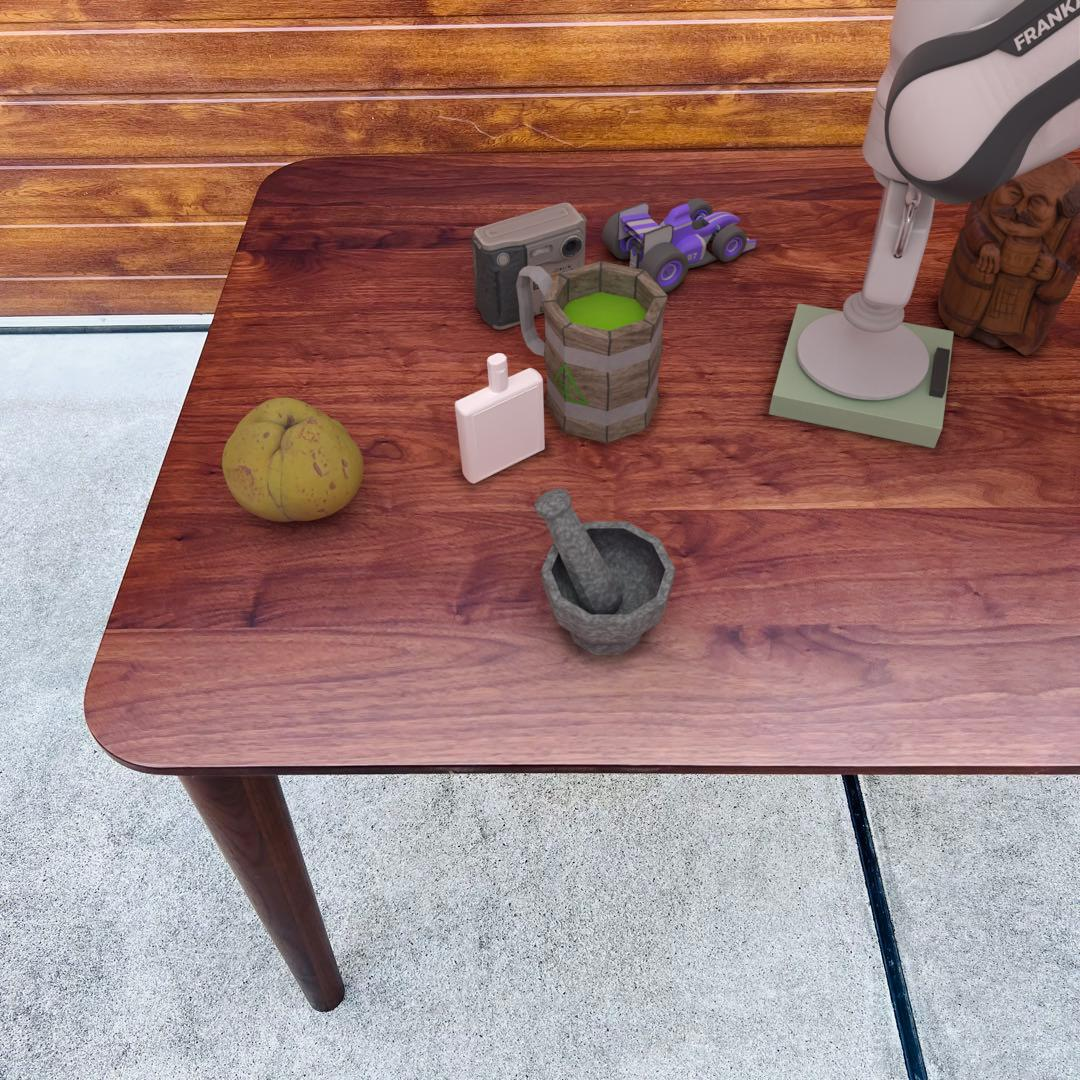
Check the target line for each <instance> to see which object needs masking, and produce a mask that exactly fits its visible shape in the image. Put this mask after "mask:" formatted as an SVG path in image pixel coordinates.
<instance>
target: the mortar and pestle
mask: <svg viewBox="0 0 1080 1080" xmlns="http://www.w3.org/2000/svg"><path fill="white" fill-rule="evenodd" d="M572 501H573V500H572V497H571V495H570V494H569V492H568V490H567V489H566V488H553V489H550V490H547V491H546V492H544V493H543V494H541V495H540V496H539V497H538V498H537V499H536V501H535V503H534V504H533V508H534V510H535V512H536V514H537V516H538V517H539V518H540V519H542V520H544V523H545V525H546V527H547V529H548V531H549V535H550V536H551V538H552V541H553V542H552V544H551V546H550V549H549V551H548V553H547V556H546V558H545V561H544V562H543V565H542V567H541V571H540V572H541V583H542V586H543V587H542V588H543V590H544V593H545V596H546V599H547V601H548V604H549V606H550V609H551V612H552V615H553V617H554V619H555V621H556V624H558V625H559V626H560V627H561V628H562V629H564V630H566V631H568V632H569V634H570V637H571V639H572V641H573V644H575V645H577V646H578V647H581V649H583V650H584V651H586V652H588V653H590V654H591V655H594V656H621V654H623V653H625V652H627V651H628V650H630V649H631V648H633V647H634V646H636V645H637V644H640V641H641V639H642V636H643V634H644V633H645V632H648V631H649V630H650V629H653V627H655V626H656V625H658V624H660V623H661V620H662V618H663V615H664V613H665V610H666V607H667V603H668V600H669V597H670V595H671V591H672V587H673V584H674V581H675V576H676V575H675V574H676V568H675V566H674V564H673V562H672V560H671V557H670V556H669V554H668V552H667V550H666V549H665V547H664V544H663V542H662V540H661V538H658V537H657V536H655V535H653V534H651V533H650V532H648V531H646V530H644V529H642V528H640V527H638V526H637V525H634V524H633V523H631V522H629V521H626V520H625V521H624V520H620V521H619V520H618V521H616V520H615V521H613V520H612V521H607V520H605V521H600V520H599V521H585V522H583V523H582V522H581V520H580V518H579V516H578V515H577V513H576V512H575V510H574V508H573V506H572Z"/></svg>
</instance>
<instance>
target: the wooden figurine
mask: <svg viewBox="0 0 1080 1080" xmlns="http://www.w3.org/2000/svg"><path fill="white" fill-rule="evenodd" d="M948 262H949V263H948V265H947V268H946V270H945V274H944V278H943V283H942V285H941V289H940V292H939V296H938V301H937V309H938V316H939V318H940V319H941V321H942V324H943V325H945V327H946V328H947V329H948V330H949V331H954V334H955V335H957V336H958V337H960V338H968V337H969V338H972V339H974V340H976V341H977V342H978V343H980V344H984V345H987V346H989V347H991V348H994V349H1001V348H1003V347H1010V348H1012V349H1014V350H1015V351H1017V352H1019V353H1020V354H1021V355H1023V356H1029V355H1031V354H1033V353H1036V351H1037V350H1038V349H1039V348H1040V347H1041V345H1042V344H1043V342H1044V341H1045V339H1046V337H1047V335H1048V334H1049V332H1050V330H1051V328H1052V326H1053V324H1054V322H1055V320H1056V319H1057V315H1058V313H1059V311H1060V309H1061V305H1062V303H1063V302H1064V301H1065V300H1066V299H1067V298H1068V297H1069V295H1070V294H1071V292H1072V289H1073V287H1074V285H1075V284H1076V281H1077V279H1078V278H1079V275H1080V168H1079V167H1078V166H1077V165H1076V164H1075V162H1073V161H1071V160H1070V159H1068V158H1066V157H1064V156H1061V157H1059V158H1057V159H1055V160H1052V161H1050V162H1048V163H1046V164H1044V165H1042V166H1039V167H1037V168H1035V169H1033V170H1031V171H1028V172H1026V173H1024V174H1022V175H1020V176H1018V177H1015V178H1013V179H1011V180H1009V181H1008V182H1007V183H1006V184H1004V185H1002V186H1000V187H999V188H997V189H995V190H993V191H992V192H990V193H988V194H986V195H985V196H983V197H981V198H979V199H978V200H976V201H973V202H971V203H969V205H968V208H967V210H966V213H965V216H964V225H963V227H961V230H960V232H959V233H958V236H957V238H956V241H955V244H954V247H953V250H952V253H951V256H950V259H949V261H948Z"/></svg>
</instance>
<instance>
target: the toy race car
mask: <svg viewBox="0 0 1080 1080" xmlns="http://www.w3.org/2000/svg"><path fill="white" fill-rule="evenodd" d="M649 207H650V206H649V204H648V203H646V202H642V203H641V202H640V203H639V204H636V205H634V206H631V207H628V208H625V209H621V210H619V211H617V212H615V213H614V214H612V216H610V218H608V220H607V221H606V223H605V225H604V227H603V229H602V233H601V239H602V240H601V241H602V244H603V247H605V248H606V249H607V250H608V251H609V252H610V253H611V254H612V255H613V256H614V257H616V259H619V260H623V261H625V260H629V267H632V268H637V269H642V270H645V271H646V272H647V273H648V274H649V275H650V276H651V278H652V279H653V280H654V281H655V282H656V283H657V284H658V286H659V287H660V288H661V289H662V290H663V291H664V292H665V294H666V295H667V294H669V293H671V292H673V291H674V290H675V289H677V288H678V287H679V286H680V285H682V283H683V281H684V280H685V278H686V277H687V274H688V271H689V269H692V268H698V267H701V266H704V265H707V264H710V263H712V262H715V261H718V259H719V260H720V261H721V262H723V263H731V262H733V261H736V259H738V258H739V257H740V256H741V255H742V254H743V253H746V252H748V251H751V250H753V249H754V250H755V249H756V247H757V244H758V240H757V239H755V238H753V239H749V238H748V237H747V234H746V232H745V231H743V230H742V229H741V228H740V227H738V226H737V225H736V224H739V223H740V222H741V218H739V217H738V216H737V215H734V214H733V213H731V212H729V211H714V210H713V207H712V206H711V204H709V203H708V202H707V201H706V200H705V199H703V198H702V197H694V198H692V199H690V200H689V201H687V202H686V203H683V204H681V205H680V204H679V205H678V206H676V207H674V208H672V209H671V210H670V211H669V213H668V215H667V216H666V217H665V218H663V221H662V222H660V224H658V223H657V222H656V221H655V220H653V217H652V216H651V215H650V214H649ZM709 241H710V242H712V244H711V252H712V254H711V252H709V251H708V250H707V244H708V243H709Z"/></svg>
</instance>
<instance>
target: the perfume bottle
mask: <svg viewBox="0 0 1080 1080" xmlns="http://www.w3.org/2000/svg"><path fill="white" fill-rule="evenodd" d="M486 365H487V377H488V379H487V381H488V386H486V387H484V388H481V389H479V390H478V391H474V392H473V393H471V394H469V395H467V396H464V397H463V398H460V399H458V400H456V401H455V402H454V411H455V419H456V429H457V438H458V445H459V453H460V463H461V469H462V475H463V477H464V478H465V479H466V480H467V481H468V483H470V484H472V485H475V484H477V483H479V482H480V481H483V480H484V479H487V478H488V477H491V476H493V475H495V474H497V473H498V472H501V471H503V470H505V469H508V468H509V467H512V466H514V465H516V464H517V463H519V462H522V461H524V460H526V459H527V458H530V457H532V456H534V455H536V454H538V453H540V452H542V451H544V450H545V449H546V442H545V440H546V439H545V410H544V409H545V408H544V406H545V403H544V379H543V377H542V374H540V372H538V371H537V370H536V369H535V368H532V367H529V368H526V369H524V370H522V371H519V372H517V373H514V374H513V375H511V376H509V372H508V369H509V367H508V357H507V356H506V355H505V354H504V353H501V352H497V353H494V354H492V355H489V357H487V360H486Z"/></svg>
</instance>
